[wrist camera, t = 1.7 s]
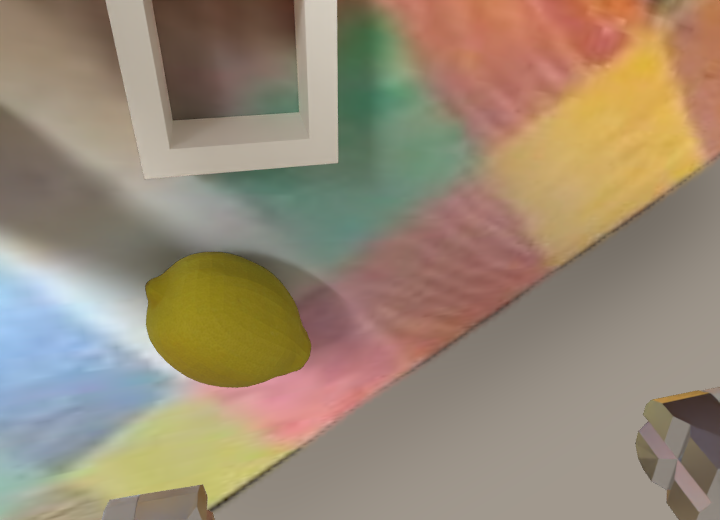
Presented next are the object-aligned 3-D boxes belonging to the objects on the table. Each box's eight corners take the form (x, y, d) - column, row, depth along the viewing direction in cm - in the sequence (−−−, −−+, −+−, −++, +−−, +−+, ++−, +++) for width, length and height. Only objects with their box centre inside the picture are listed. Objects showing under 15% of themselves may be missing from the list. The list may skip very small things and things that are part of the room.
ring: (108, -54, 27) (96, -43, 24) (321, -56, 29) (336, -46, 26) (149, 148, 32) (144, 179, 29) (325, 134, 34) (338, 163, 31)
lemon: (117, 280, 37) (100, 369, 30) (197, 197, 35) (196, 273, 28) (247, 354, 43) (256, 441, 36) (322, 286, 41) (345, 366, 34)
